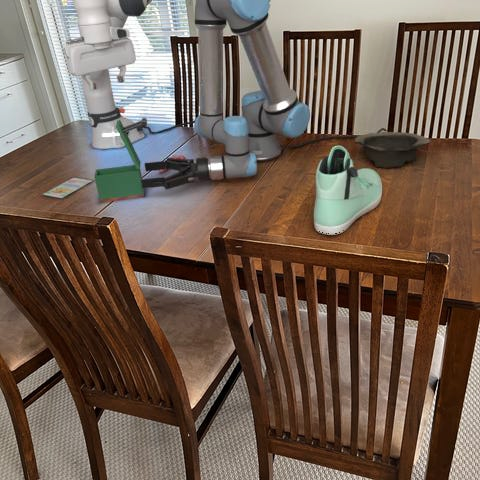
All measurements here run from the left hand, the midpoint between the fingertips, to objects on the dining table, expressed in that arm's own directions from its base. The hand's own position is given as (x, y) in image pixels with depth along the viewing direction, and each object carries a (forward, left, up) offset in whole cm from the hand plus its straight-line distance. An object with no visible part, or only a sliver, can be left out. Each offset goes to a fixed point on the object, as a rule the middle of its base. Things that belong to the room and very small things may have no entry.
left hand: (107, 85), depth 139 cm
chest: (+2, -2, -35) cm, 35 cm away
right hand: (-4, +3, -29) cm, 29 cm away
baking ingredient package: (+10, -22, -35) cm, 43 cm away
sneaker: (-34, +61, -35) cm, 79 cm away
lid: (-2, +1, -19) cm, 19 cm away
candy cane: (-24, -8, -35) cm, 43 cm away
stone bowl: (-74, +52, -35) cm, 97 cm away
